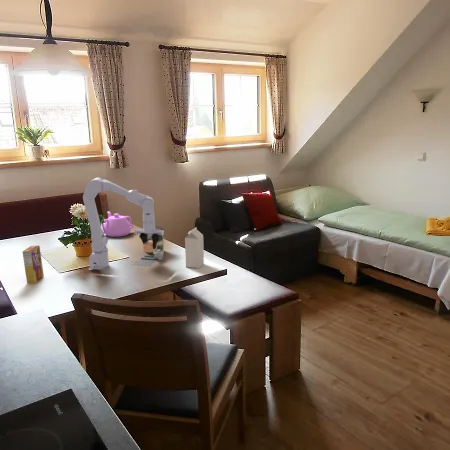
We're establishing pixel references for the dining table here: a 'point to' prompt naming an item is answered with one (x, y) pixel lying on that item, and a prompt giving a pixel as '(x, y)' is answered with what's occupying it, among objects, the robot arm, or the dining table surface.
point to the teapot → (117, 225)
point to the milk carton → (194, 249)
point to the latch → (158, 254)
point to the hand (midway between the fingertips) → (150, 248)
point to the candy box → (33, 264)
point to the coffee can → (159, 243)
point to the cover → (149, 246)
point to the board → (146, 261)
